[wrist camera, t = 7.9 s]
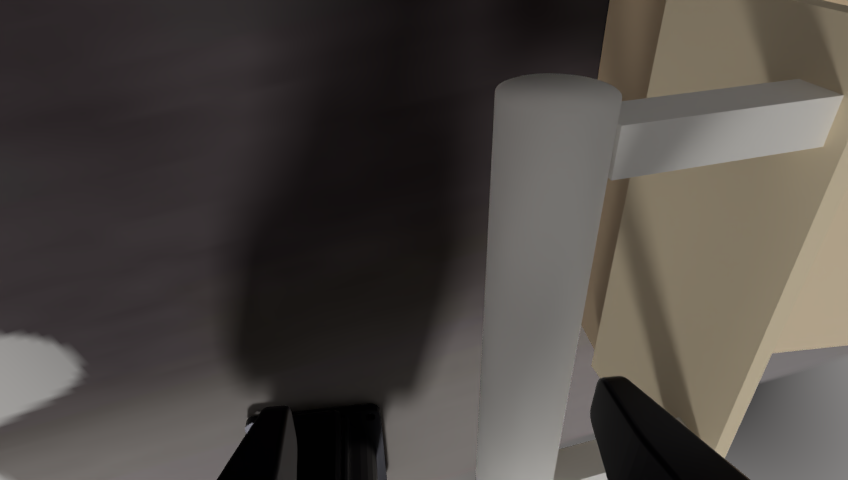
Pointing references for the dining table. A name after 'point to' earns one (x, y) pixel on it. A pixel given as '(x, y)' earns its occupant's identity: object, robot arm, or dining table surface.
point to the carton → (630, 73)
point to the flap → (660, 224)
